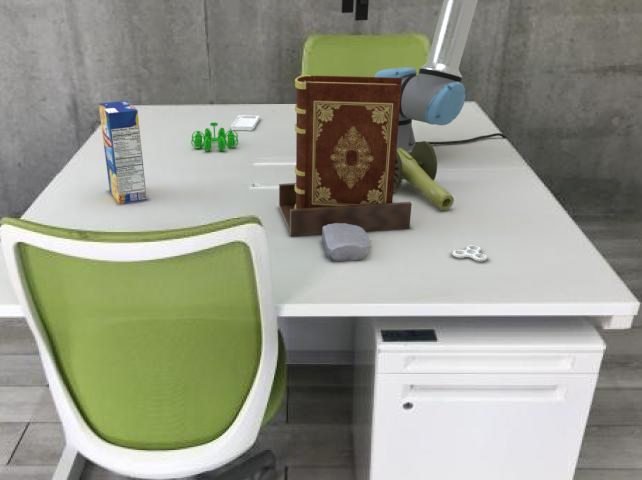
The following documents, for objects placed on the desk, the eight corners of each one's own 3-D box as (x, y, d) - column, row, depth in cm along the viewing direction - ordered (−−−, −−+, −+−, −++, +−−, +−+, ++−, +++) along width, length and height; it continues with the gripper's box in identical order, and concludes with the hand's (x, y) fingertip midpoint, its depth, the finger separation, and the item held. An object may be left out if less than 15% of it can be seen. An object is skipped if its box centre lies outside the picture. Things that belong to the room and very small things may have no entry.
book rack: (387, 201, 178) (389, 177, 175) (409, 228, 163) (411, 203, 160) (279, 207, 175) (278, 183, 172) (291, 236, 160) (291, 210, 156)
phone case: (252, 130, 235) (260, 119, 248) (252, 126, 235) (260, 115, 247) (230, 130, 236) (239, 118, 249) (230, 126, 236) (238, 114, 248)
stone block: (361, 245, 159) (317, 238, 158) (367, 225, 157) (322, 218, 155) (371, 270, 149) (324, 263, 148) (377, 249, 147) (330, 242, 145)
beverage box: (119, 204, 178) (108, 113, 167) (109, 190, 187) (98, 103, 175) (146, 200, 180) (137, 110, 169) (135, 187, 189) (126, 100, 178)
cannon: (466, 207, 174) (473, 161, 168) (424, 215, 170) (429, 168, 164) (410, 177, 193) (414, 134, 188) (371, 183, 189) (374, 140, 184)
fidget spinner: (488, 261, 147) (489, 257, 147) (457, 262, 147) (458, 259, 146) (477, 247, 153) (478, 244, 153) (447, 248, 153) (448, 245, 152)
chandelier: (228, 155, 212) (227, 131, 209) (182, 151, 216) (180, 127, 213) (246, 141, 224) (246, 119, 221) (202, 138, 229) (201, 115, 225)
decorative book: (292, 217, 167) (292, 81, 151) (297, 205, 174) (298, 74, 158) (390, 223, 163) (400, 85, 148) (391, 210, 170) (402, 77, 155)
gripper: (391, -92, 145) (384, 23, 156) (361, -92, 167) (357, 9, 178) (355, -91, 145) (350, 24, 155) (329, -91, 166) (327, 10, 177)
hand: (354, 16), depth 167 cm, fingers open, 13 cm apart
